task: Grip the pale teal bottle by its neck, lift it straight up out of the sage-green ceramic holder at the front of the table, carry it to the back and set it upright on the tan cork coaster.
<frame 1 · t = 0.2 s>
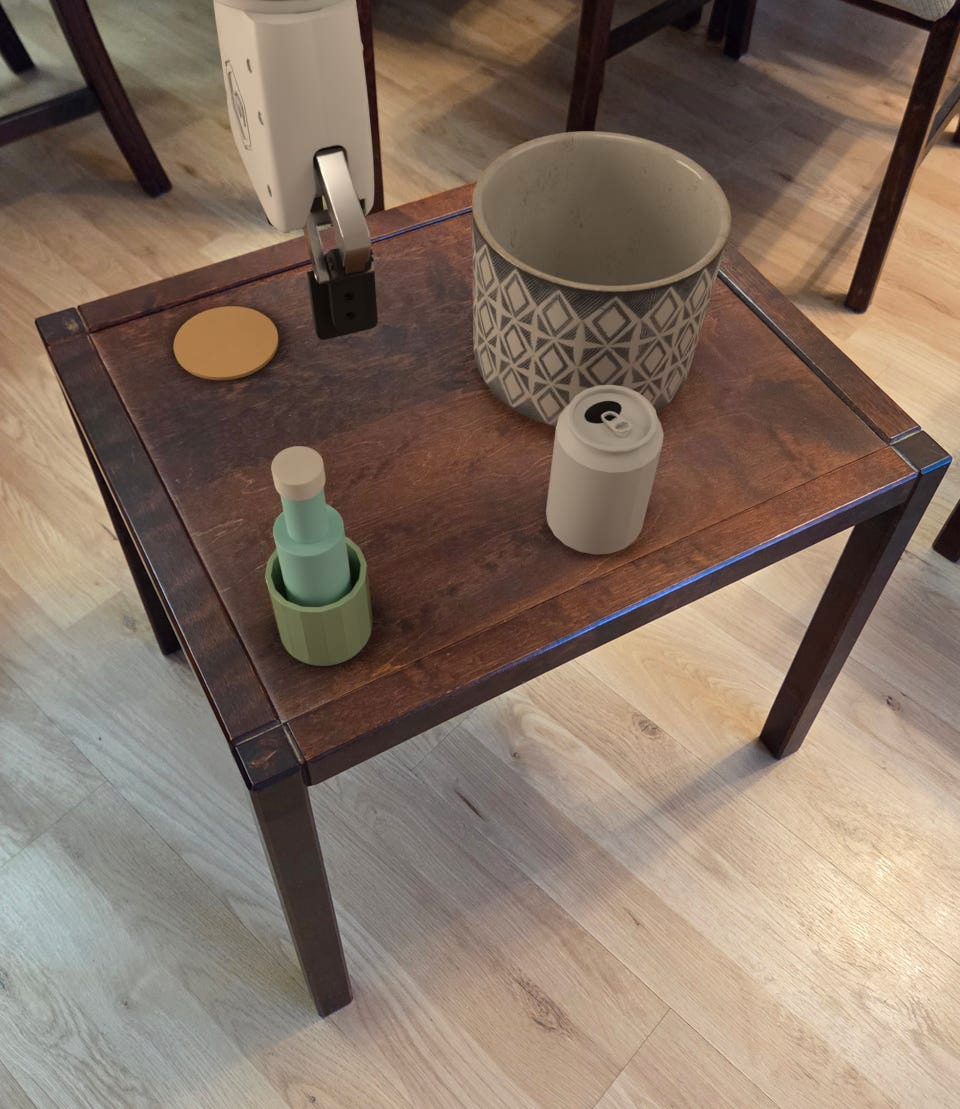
hand: (320, 272, 57), 27 cm above the table, tool pointing down, fingers open, 9 cm apart
holder: (325, 626, 75), on the table
bottle: (325, 621, 75), point 1 cm above the table, touching holder
can: (593, 523, 82), on the table
planter: (579, 368, 92), on the table
coaster: (226, 344, 92), on the table
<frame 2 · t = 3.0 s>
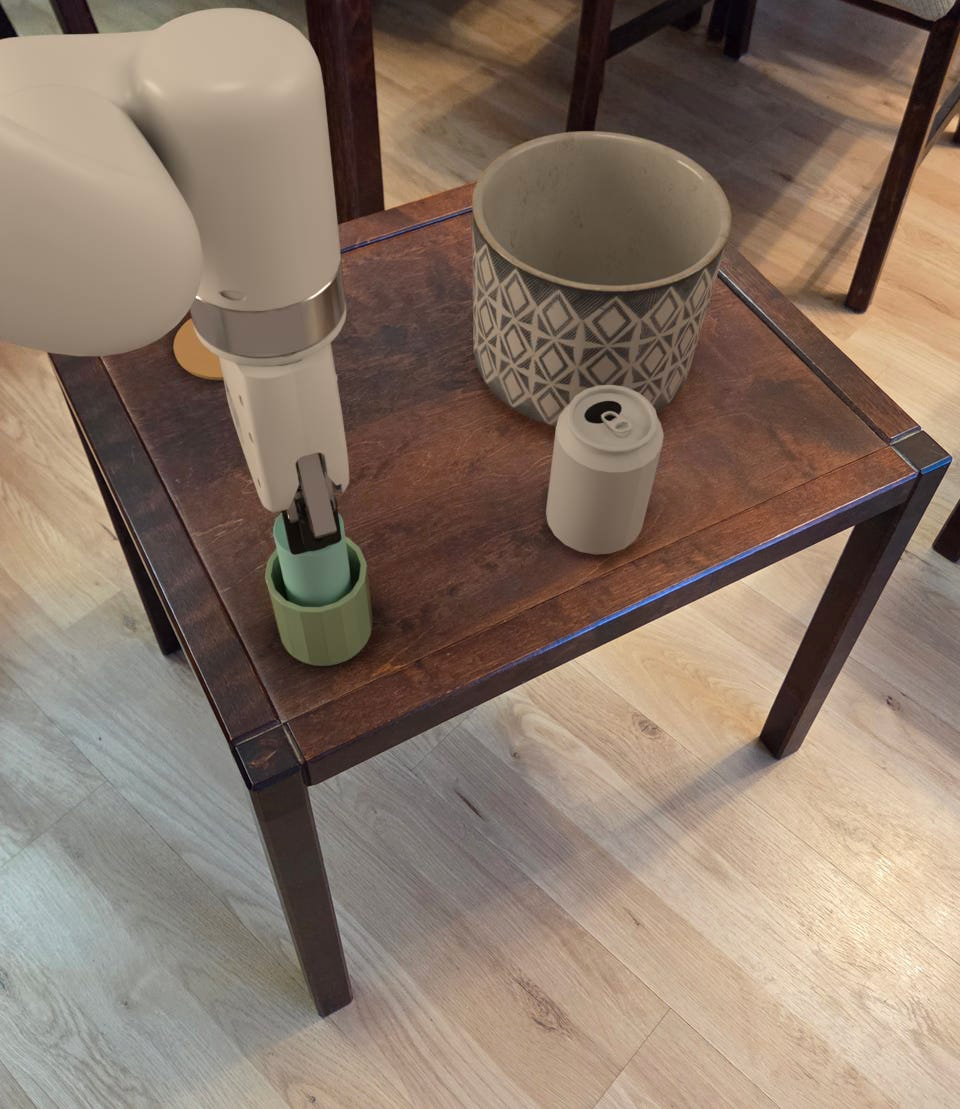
hand: (307, 521, 66), 12 cm above the table, tool pointing down, fingers closed on bottle, 3 cm apart
bottle: (325, 621, 75), point 1 cm above the table, touching gripper, holder
everything else where it was.
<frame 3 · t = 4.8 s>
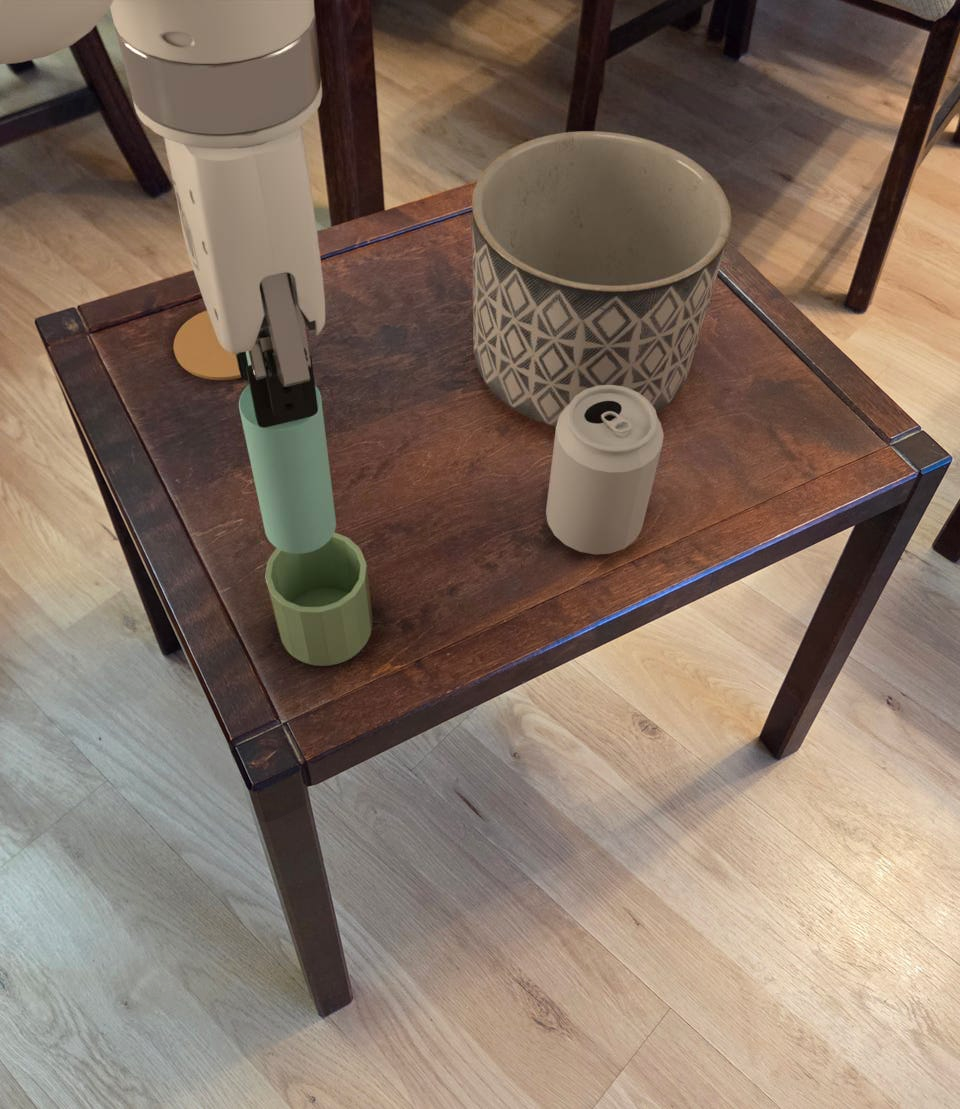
hand: (278, 392, 56), 24 cm above the table, tool pointing down, fingers closed on bottle, 3 cm apart
bottle: (300, 525, 66), point 12 cm above the table, touching gripper
everything else where it was.
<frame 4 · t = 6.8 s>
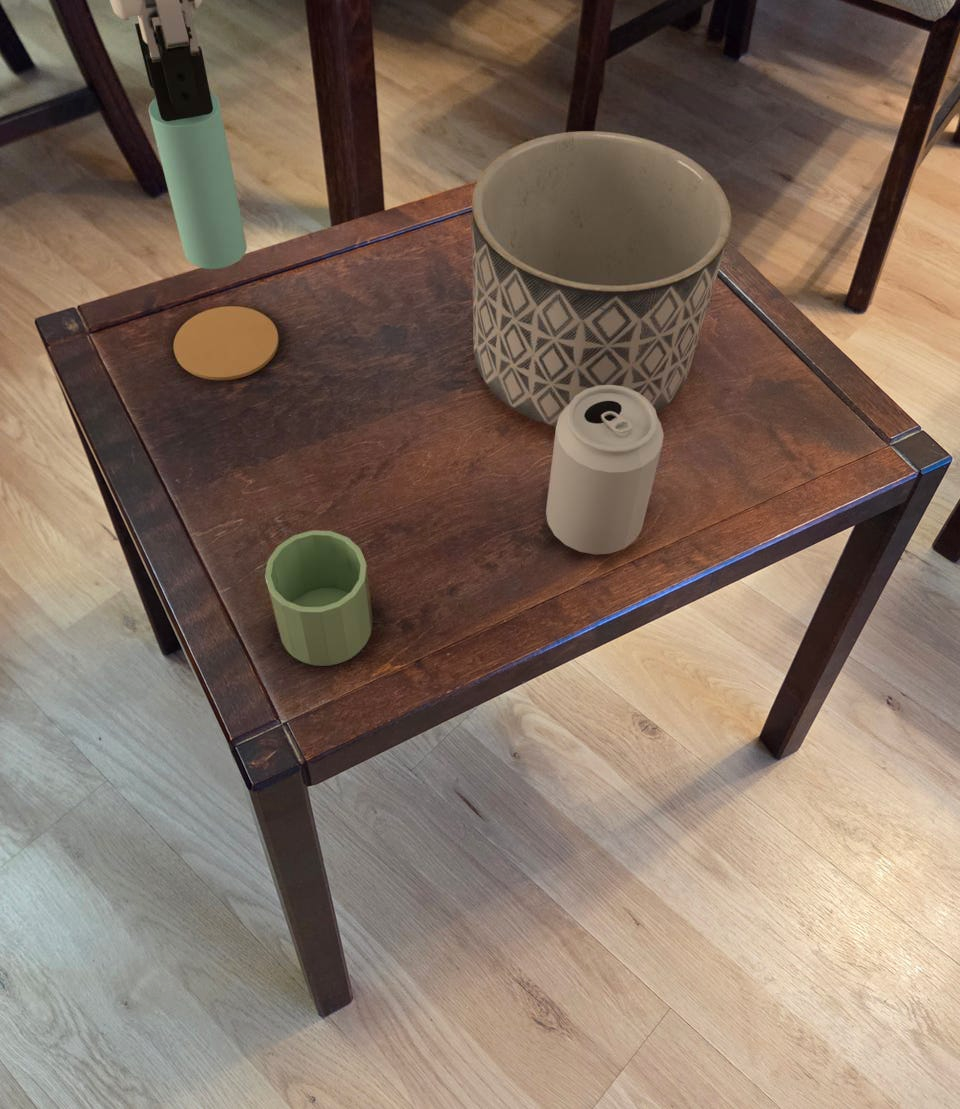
hand: (181, 97, 66), 27 cm above the table, tool pointing down, fingers closed on bottle, 3 cm apart
bottle: (215, 249, 75), point 16 cm above the table, touching gripper
everything else where it was.
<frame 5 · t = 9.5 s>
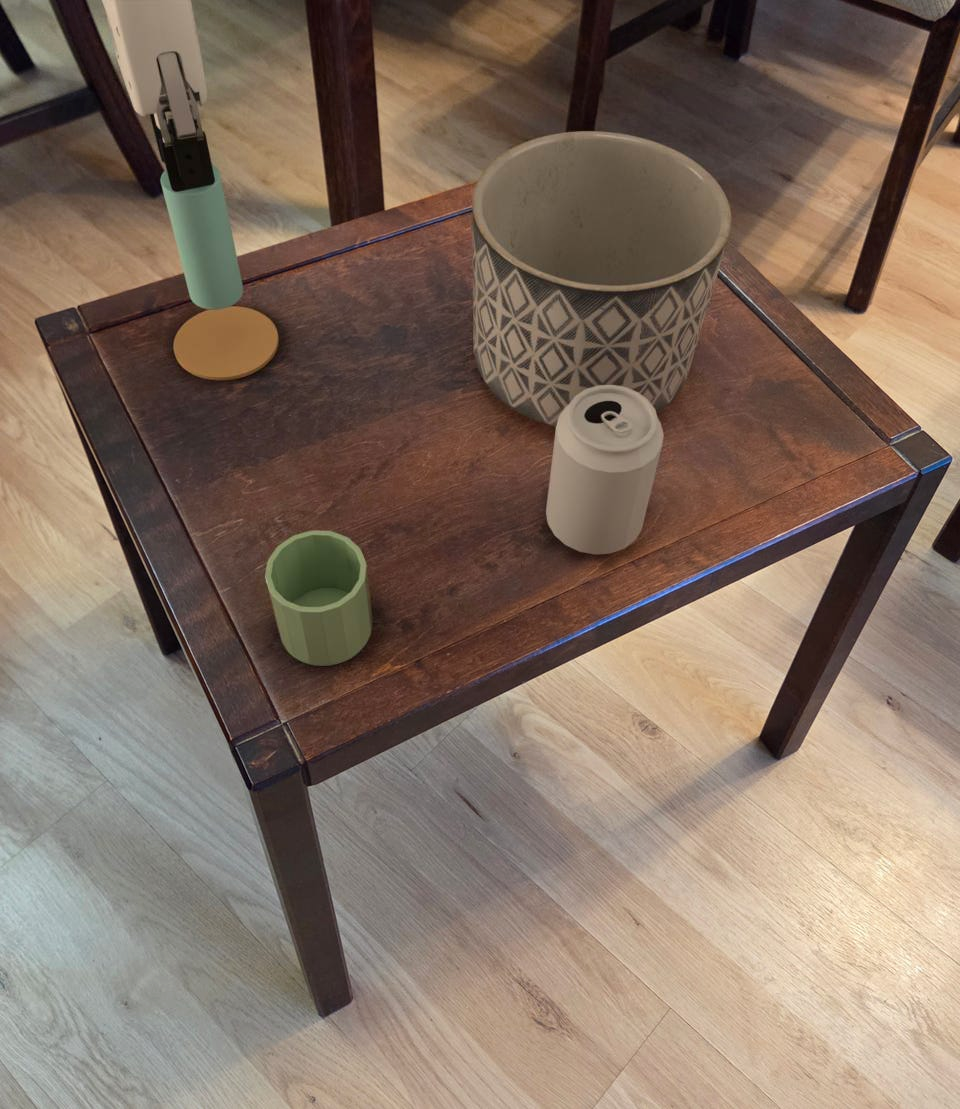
hand: (187, 170, 78), 17 cm above the table, tool pointing down, fingers closed on bottle, 3 cm apart
bottle: (216, 292, 88), point 6 cm above the table, touching gripper
everything else where it was.
when the fingers open (12 cm above the table, at t = 11.0 s): bottle stays where it is, resting on coaster.
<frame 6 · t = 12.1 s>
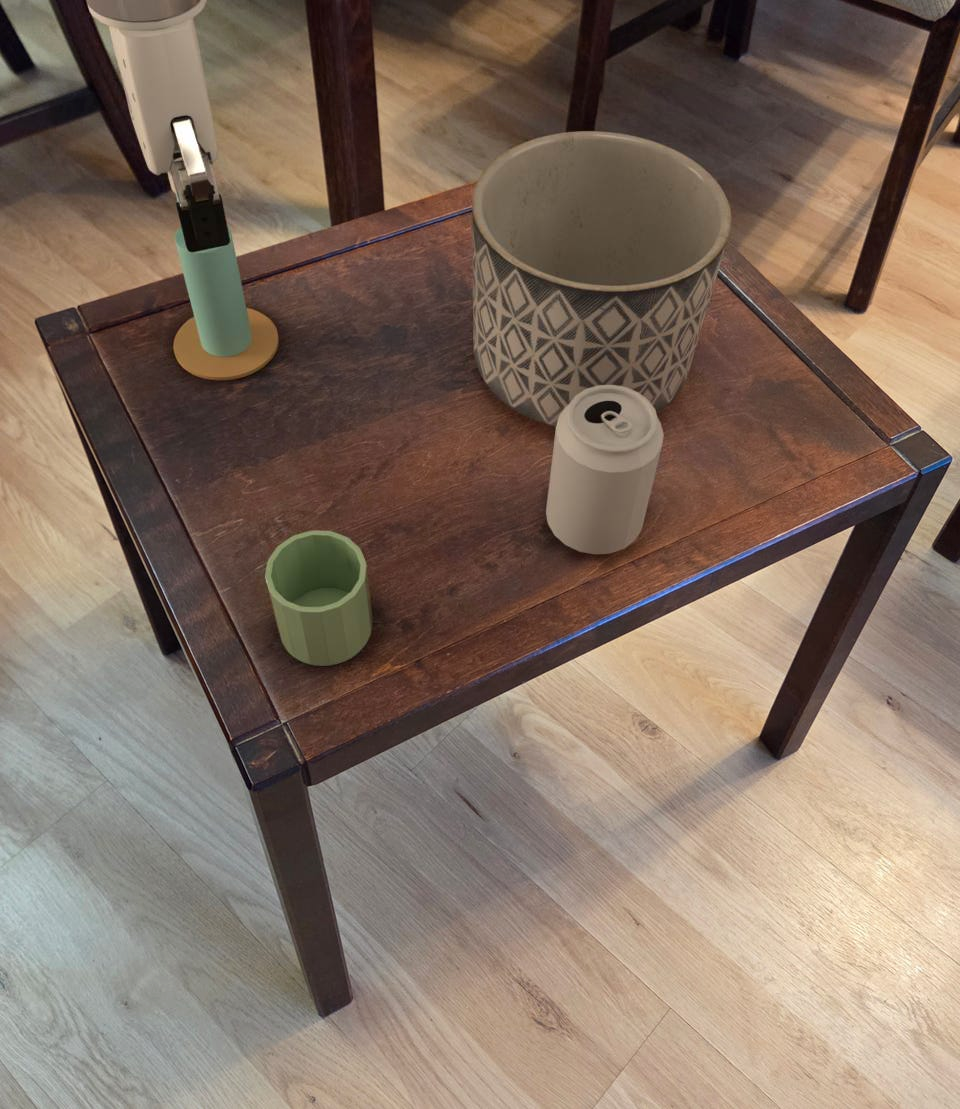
hand: (194, 208, 81), 14 cm above the table, tool pointing down, fingers open, 9 cm apart
bottle: (226, 339, 92), resting on coaster
everything else where it was.
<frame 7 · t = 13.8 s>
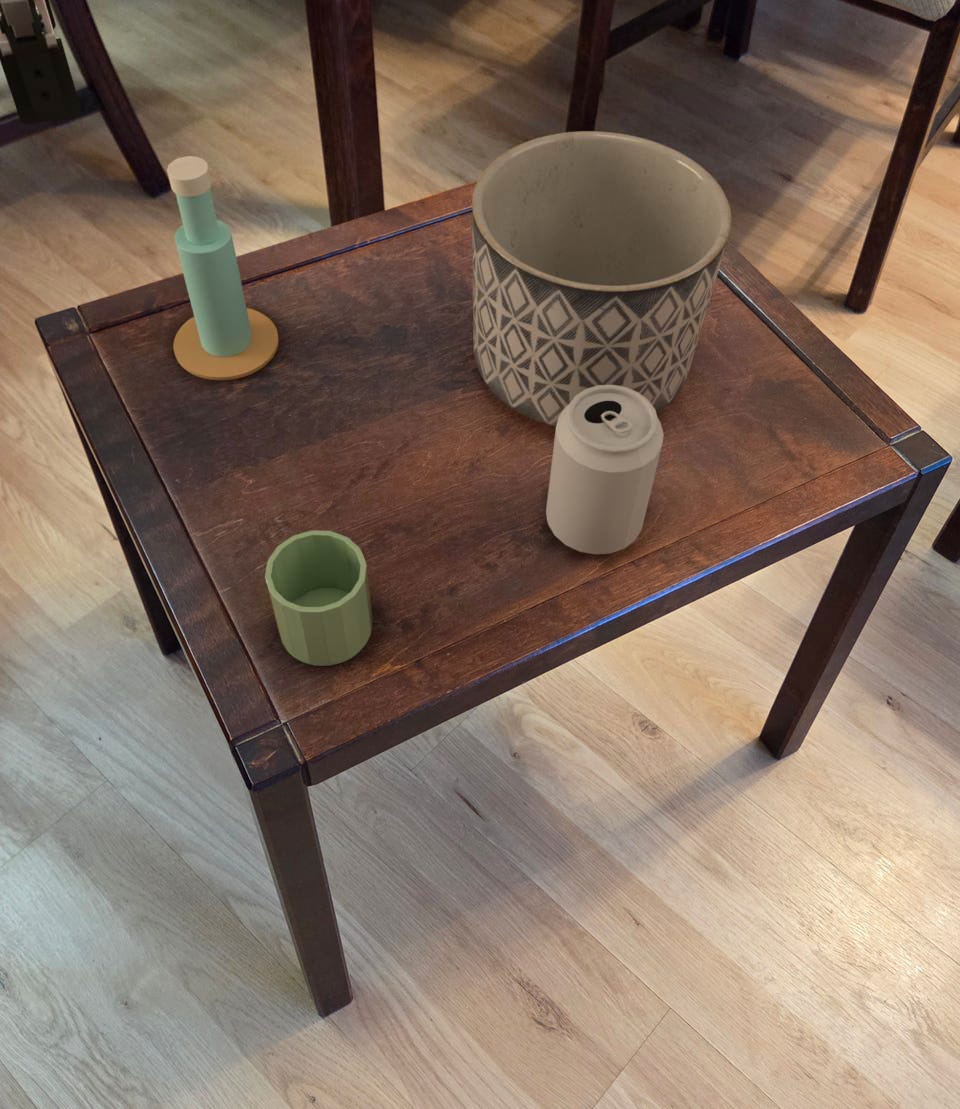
hand: (39, 72, 60), 31 cm above the table, tool pointing down, fingers open, 9 cm apart
nothing on the table moved.
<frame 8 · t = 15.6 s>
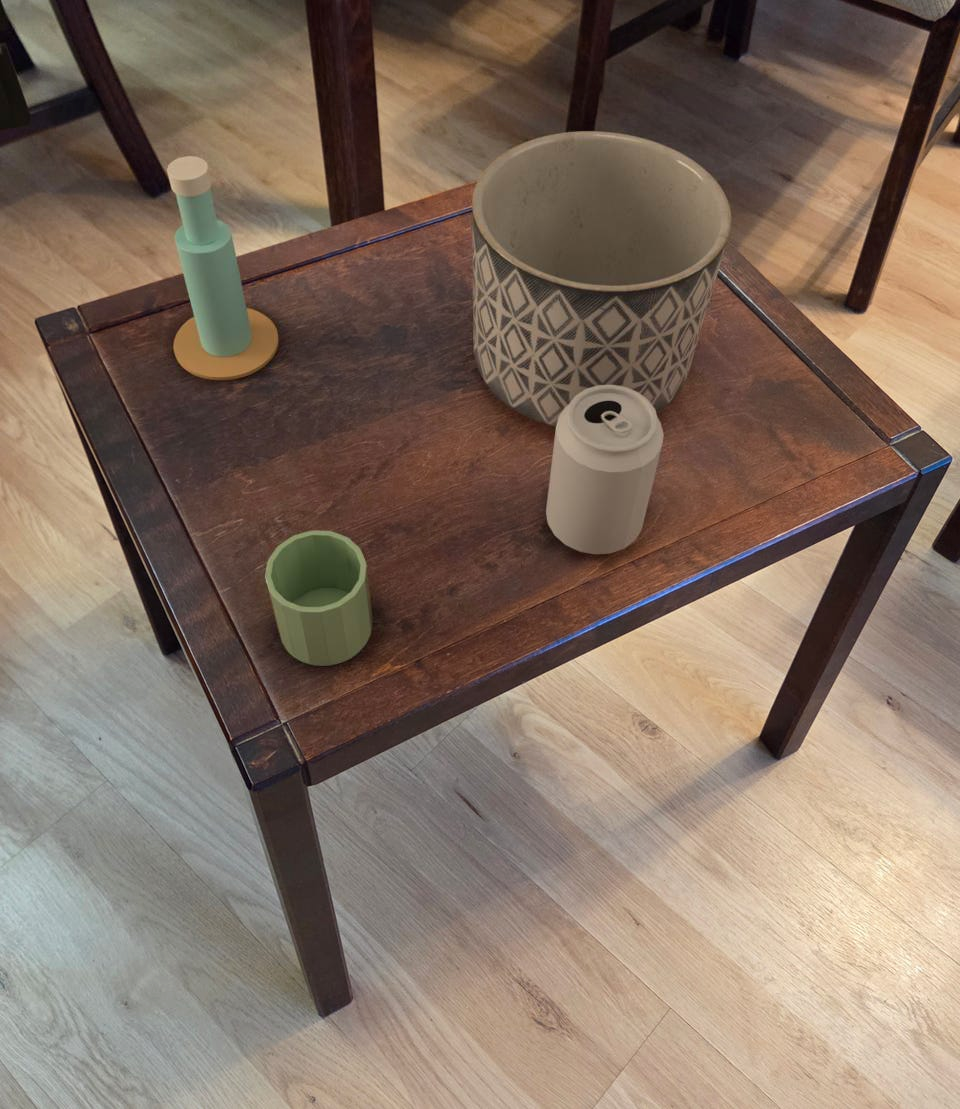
nothing on the table moved.
at the end: bottle 0.1 cm off-centre on the coaster, point 0.4 cm above the coaster's base; bottle tilted 0°; the gripper is holding nothing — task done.
